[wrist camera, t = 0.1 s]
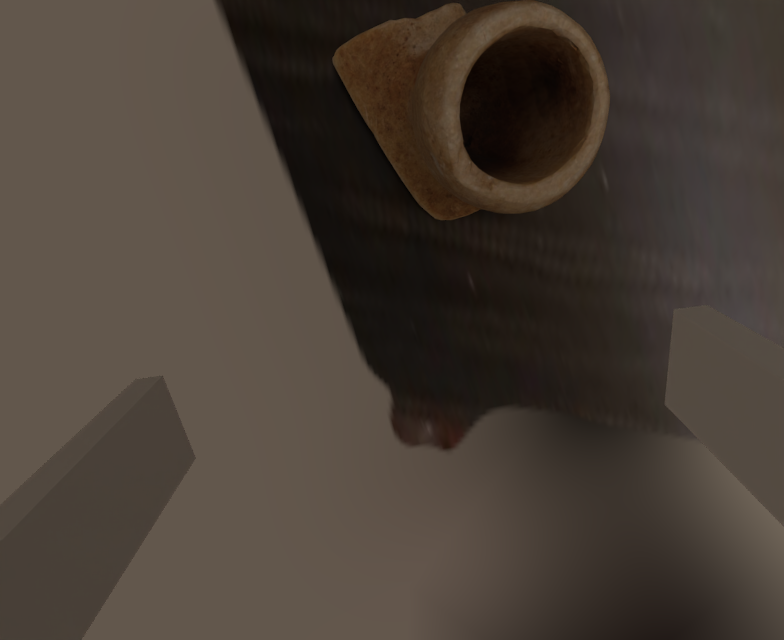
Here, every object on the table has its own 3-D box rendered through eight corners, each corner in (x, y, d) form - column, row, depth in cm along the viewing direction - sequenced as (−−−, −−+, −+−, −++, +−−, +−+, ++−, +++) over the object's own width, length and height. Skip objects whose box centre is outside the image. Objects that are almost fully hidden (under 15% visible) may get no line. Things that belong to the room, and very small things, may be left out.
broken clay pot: (561, 157, 36) (663, 172, 22) (431, 234, 38) (449, 291, 24) (473, -42, 31) (533, -186, 17) (331, 61, 33) (282, 10, 19)
